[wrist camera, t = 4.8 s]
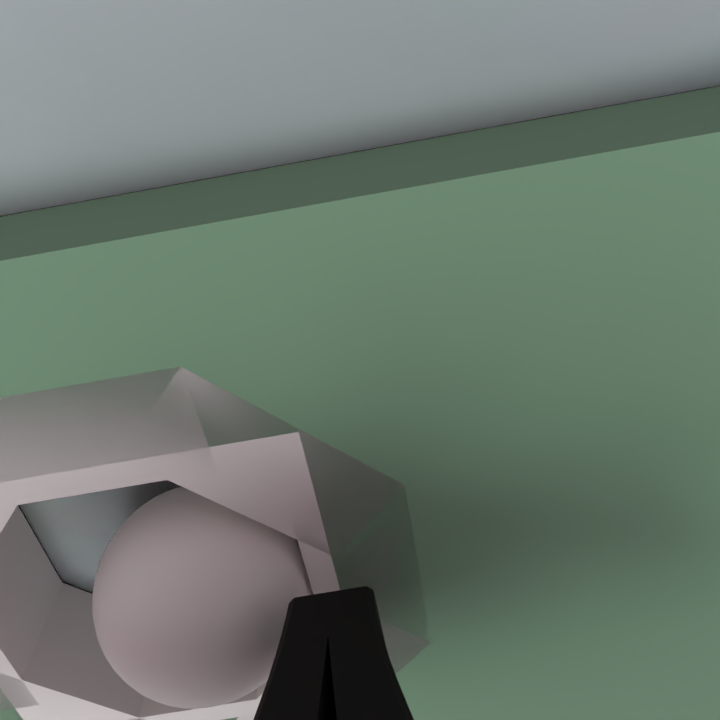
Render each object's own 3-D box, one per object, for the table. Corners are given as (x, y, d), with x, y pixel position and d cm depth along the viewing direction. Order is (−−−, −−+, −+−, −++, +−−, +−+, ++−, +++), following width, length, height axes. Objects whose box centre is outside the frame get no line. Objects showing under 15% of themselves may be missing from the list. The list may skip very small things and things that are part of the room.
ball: (30, 647, 10) (84, 457, 13) (114, 769, 12) (143, 583, 15) (301, 599, 10) (288, 424, 13) (333, 728, 12) (315, 553, 15)
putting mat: (850, 61, 10) (985, 83, 8) (736, 633, 17) (794, 721, 15) (-251, 262, 11) (-384, 329, 9) (73, 737, 18) (41, 837, 16)
